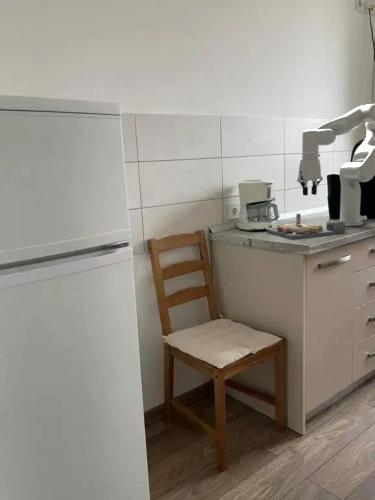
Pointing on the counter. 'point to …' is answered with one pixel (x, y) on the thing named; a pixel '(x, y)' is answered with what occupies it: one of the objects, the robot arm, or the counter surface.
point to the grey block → (336, 226)
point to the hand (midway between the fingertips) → (309, 194)
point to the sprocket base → (300, 234)
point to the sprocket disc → (299, 227)
